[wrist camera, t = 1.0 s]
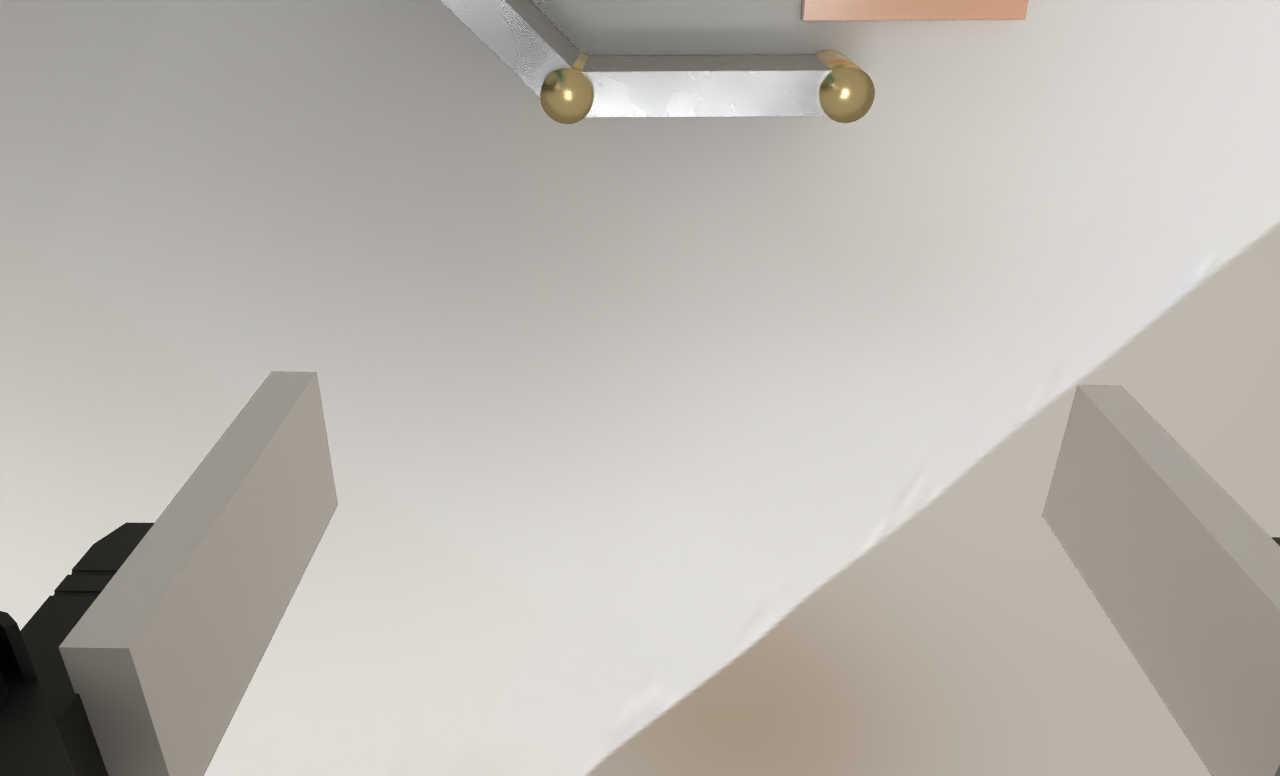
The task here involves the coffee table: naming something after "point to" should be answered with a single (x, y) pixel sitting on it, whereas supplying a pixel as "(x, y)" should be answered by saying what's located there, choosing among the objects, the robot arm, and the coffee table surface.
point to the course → (661, 74)
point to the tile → (912, 10)
